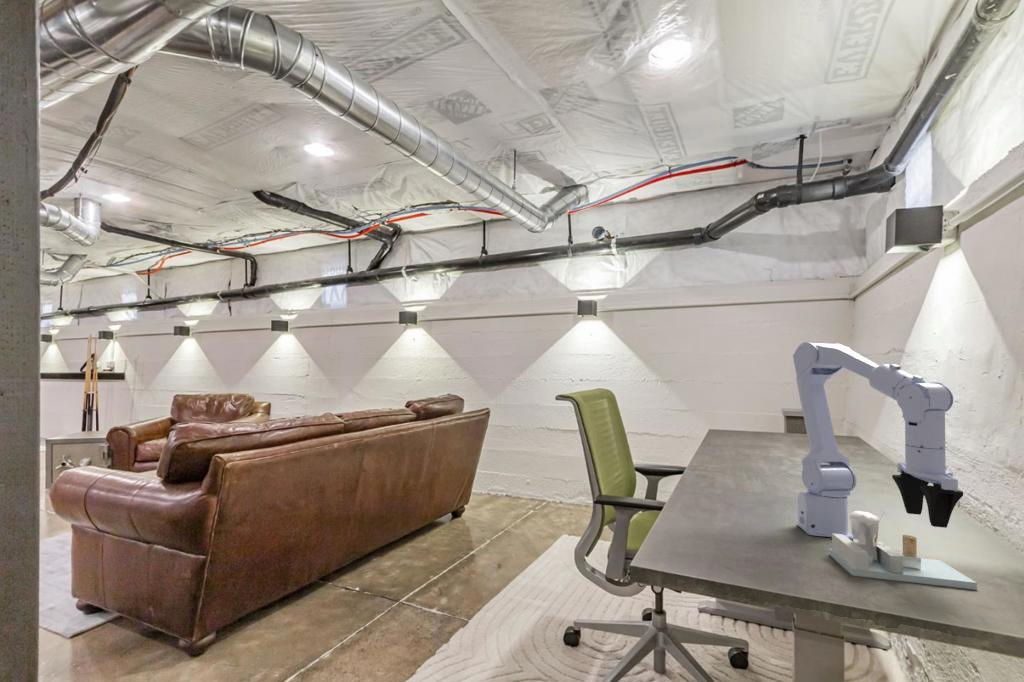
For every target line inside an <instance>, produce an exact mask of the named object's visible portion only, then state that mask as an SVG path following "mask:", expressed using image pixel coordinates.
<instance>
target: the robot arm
mask: <svg viewBox="0 0 1024 682" xmlns="http://www.w3.org/2000/svg"><path fill="white" fill-rule="evenodd" d="M792 358H793V364H794V368H795V373H796V379H795V380H796V385H797V391H798V395H799V400H800V405H801V410H802V415H803V420H804V425H805V431H806V435H807V441H808V445H809V452H808V453H807V454H806V455H805V456H804V457H803V458H801V463H802V464H801V465H802V471H801V481H802V483H803V486H805V488H806V489H807V490H806V491H800V492H799V494H798V497H797V522H796V525H797V526H798V527H800V529H802V531H804V533H805V534H807V535H808V536H814V537H815V536H816V537H817V536H818V537H826V538H827V537H828V538H832V533H834V534H843V535H845V536H846V537H847V538H849V539H850V540H853V535H852V533H851V532H849V530H848V529H849V528H848V527H849V526H848V525H849V524H848V523H849V520H848V519H849V518H848V517H849V516H848V513H849V512H848V510H849V509H848V508H849V507H848V500H849V499H848V497H849V496H851V492H852V491H853V490H855V488H856V486H857V476H856V473H855V472H854V470H853V468H852V467H851V464H850V461H849V458H848V457H847V456H845V455H844V454H843V453H842V452H840V451H839V450H838V445H837V441H836V437H835V432H834V427H833V423H832V417H831V414H830V408H829V404H828V399H827V394H826V390H825V383H826V382H827V381H828V380H830V379H831V378H833V376H834V375H835V376H836V374H838V373H839V372H840V371H841V370H842V369H846V370H848V371H850V372H852V373H855V374H856V375H858V376H861V377H862V378H865V379H868V382H869V385H870V387H871V388H873V389H874V390H875V391H877V392H880V393H881V394H883V395H886V396H887V397H889V398H890V399H893V400H894V401H896V403H897V405H898V407H899V408H900V409H901V411H902V418H903V420H904V429H905V431H904V435H905V437H904V438H905V439H904V442H905V443H904V444H905V446H904V448H905V450H904V451H905V452H904V453H905V457H904V458H905V462H900V461H899V462H897V472H898V473H899V474H892V475H891V476H892V480H893V481H894V482H895V484H896V486H897V488H898V490H899V493H900V494H901V498H902V503H903V506H904V509H905V512H906V513H907V514H909V515H919V516H921V514H922V511H923V505H924V499H925V501H926V504H927V505H926V506H927V513H928V519H929V522H930V525H931V526H932V527H935V528H945V529H947V528H948V525H949V522H950V519H951V516H952V512H953V510H954V509H955V508H956V505H957V503H958V502H959V501H960V500H961V499H962V497H963V496H964V491H963V490H960V489H959V479H957V478H954V473H953V472H951V471H949V470H946V466H947V465H946V412H948V411H949V410H950V409H951V408H952V407H953V404H954V395H953V392H952V391H951V390H950V388H948V387H947V386H945V385H944V384H943V383H941V382H938V381H937V382H934V381H933V382H928V383H927V382H926V381H925V380H924V378H923V377H922V376H920V375H913V374H911V373H909V372H906V371H904V370H902V366H901V365H898V364H896V363H890V364H881V365H878V364H877V363H875V362H873V361H871V360H869V359H868V358H867V357H864V356H862V355H860V354H859V353H857V352H856V351H854V350H852V349H851V347H849V346H846V345H843V344H841V343H837V342H836V343H823V342H822V343H818V342H809V341H805V342H802V343H800V344H799V345H798V346H797V348H796V349H795V351H794V353H793V354H792ZM822 463H823V464H822ZM824 463H826V464H824ZM929 483H930V484H932V485H929Z"/></svg>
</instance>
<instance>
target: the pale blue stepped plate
mask: <svg viewBox="0 0 1024 682" xmlns="http://www.w3.org/2000/svg"><path fill="white" fill-rule="evenodd" d="M828 551H829V554H828V555H829V556H830V557H831V558H833V559H834V560H835V561H836V562H837V563H838V564H839V565H840V566H841V567H842V568H844V569H845V571H847V572H848V573H849V574H850V575H851V576H854V577H863V578H869V579H870V578H873V579H880V580H888V581H889V580H890V581H897V582H907V583H914V584H923V585H924V584H925V585H931V586H932V585H933V586H939V587H947V588H958V589H967V590H975V591H977V590H978V582H977V581H975V580H973V579H971V578H970V577H968V576H966V575H965V574H963V573H962V572H960V571H959V570H956V569H955V568H953V567H951V566H950V565H949V564H947V563H945V562H943V561H942V560H940V559H933V558H931V559H930V558H925V557H924V558H923V557H920V558H921V569H915V568H906V567H903V574H899V573H891V572H889V571H888V570H887V569H885V568H884V567H883V566H881V565H880V564H879V563H877V562H876V563H875V564H868V553H867V552H866V551H864V550H863V549H862V548H861V547H859V546H858V545H857V544H855V543H854V542H853V540H852V539H849V538H847V537H846V536H845V535H843V534H834V533H832V537H831V548H828Z"/></svg>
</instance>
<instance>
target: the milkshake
mask: <svg viewBox="0 0 1024 682" xmlns="http://www.w3.org/2000/svg"><path fill="white" fill-rule="evenodd" d="M885 512H886V511H883V513H882V514H881V516H880V517H878V516H877V515H876V514H874V513H871V512H869V511H862V510H855V511H852V512H851V513H850V515H849V517H850V518H849V519H850V525H851V527H850V528H851V534H852V535H853V539H852V541H853V542H854V543H855V544H857V545H858V546H859V547H861V548H862V549H863V550H864V551H866V552H867V553H868V564H875V563H876V551H877V540H878V536H879V530H880V529H879V528H880V522H881V518H883V516H884V514H885Z"/></svg>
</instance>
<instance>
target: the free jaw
mask: <svg viewBox="0 0 1024 682" xmlns="http://www.w3.org/2000/svg"><path fill="white" fill-rule="evenodd" d="M917 550H918V549H917V537H916V536H913V535H909V534H902V550H898V549H896V550H895V549H892V548H891V547H890V546H888V545H886V544H885V543H884V542H882V541H881V540H879V539H877V551H876V562H877V563H879V564H880V565H881V566H883V567H884V568H885V569H887V570H888V571H889V572H891V573H899V574H903V567H906V568H915V569H921V558H922V557H919V556H918V551H917Z"/></svg>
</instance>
